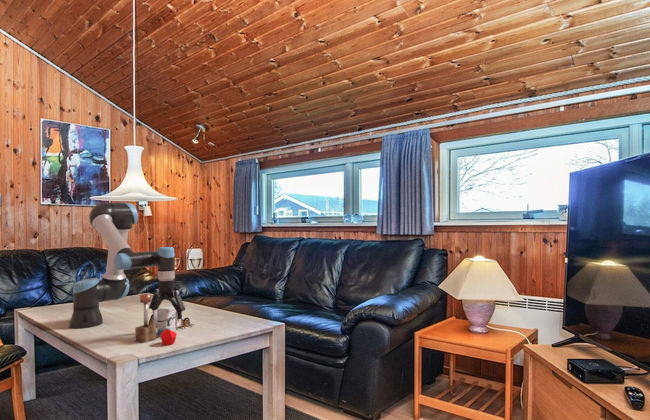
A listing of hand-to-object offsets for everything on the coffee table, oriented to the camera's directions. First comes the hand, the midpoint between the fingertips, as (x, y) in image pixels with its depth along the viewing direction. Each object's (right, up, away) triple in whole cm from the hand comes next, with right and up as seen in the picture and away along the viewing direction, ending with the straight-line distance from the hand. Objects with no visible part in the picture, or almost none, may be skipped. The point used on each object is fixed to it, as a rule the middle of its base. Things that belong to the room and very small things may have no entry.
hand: (167, 325), depth 196 cm
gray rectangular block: (+5, -4, +10) cm, 12 cm away
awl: (-5, +1, -11) cm, 13 cm away
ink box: (0, -4, 0) cm, 4 cm away
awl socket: (-5, -4, -12) cm, 13 cm away
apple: (+7, -3, -18) cm, 19 cm away
